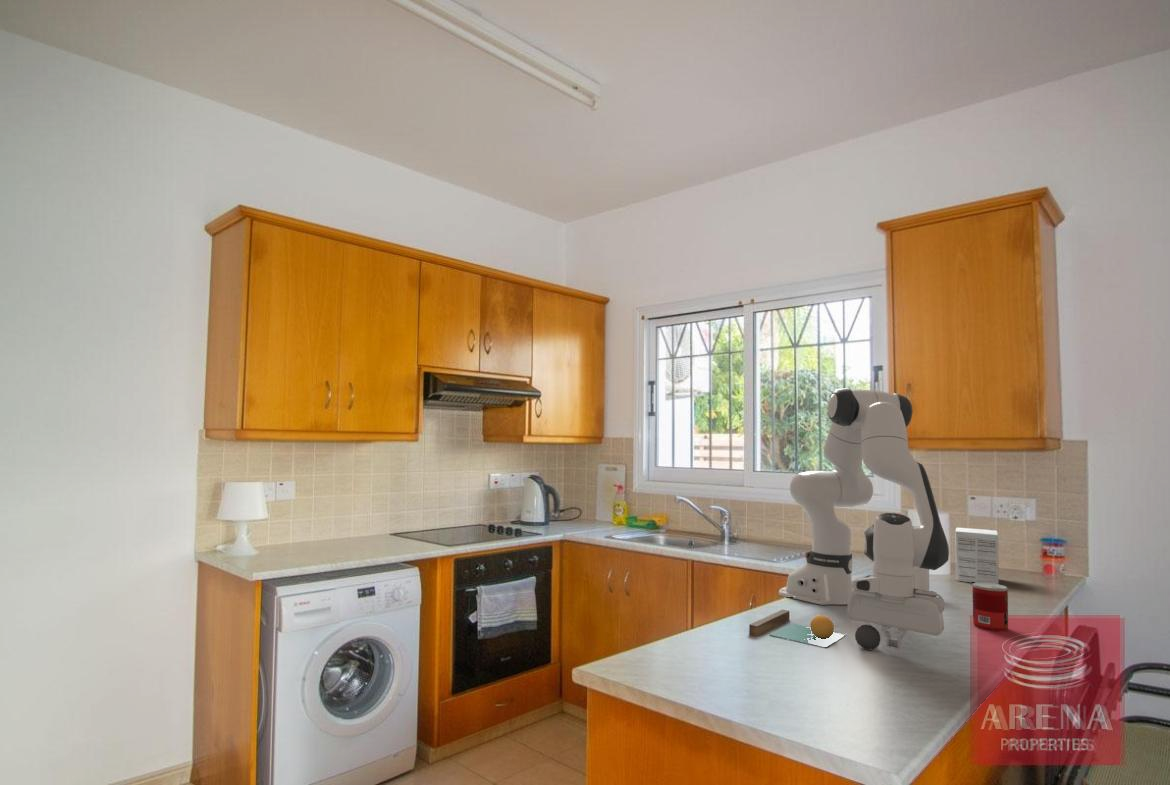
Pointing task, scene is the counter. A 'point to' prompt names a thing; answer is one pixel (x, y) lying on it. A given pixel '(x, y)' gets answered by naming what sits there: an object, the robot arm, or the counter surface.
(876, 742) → the counter surface
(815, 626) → the orange ball
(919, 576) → the pill bottle
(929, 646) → the counter surface
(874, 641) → the dark grey ball
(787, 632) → the teal mark
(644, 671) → the counter surface
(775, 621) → the bar
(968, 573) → the supplement box
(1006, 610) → the canned food
